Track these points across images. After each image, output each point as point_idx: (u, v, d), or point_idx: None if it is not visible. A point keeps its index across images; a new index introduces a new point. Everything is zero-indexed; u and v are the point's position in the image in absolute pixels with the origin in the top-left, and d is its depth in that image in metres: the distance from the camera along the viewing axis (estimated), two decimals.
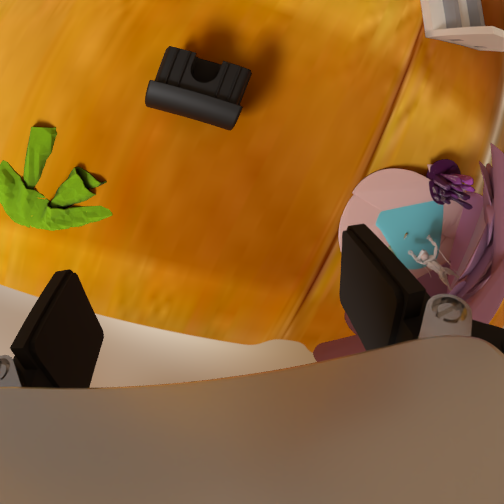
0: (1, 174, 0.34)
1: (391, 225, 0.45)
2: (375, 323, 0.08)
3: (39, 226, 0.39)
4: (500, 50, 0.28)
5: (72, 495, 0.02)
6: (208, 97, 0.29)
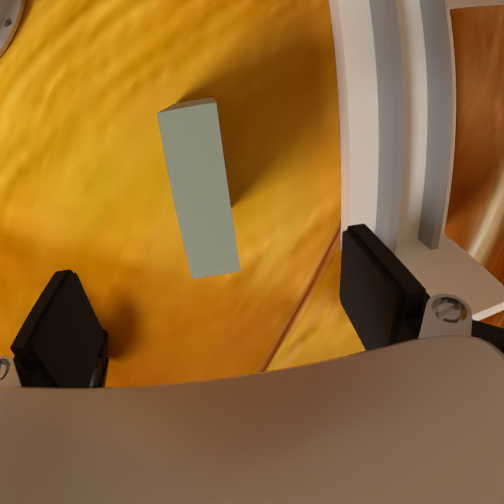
0: None
1: None
2: (375, 323, 0.08)
3: None
4: None
5: (72, 495, 0.02)
6: None
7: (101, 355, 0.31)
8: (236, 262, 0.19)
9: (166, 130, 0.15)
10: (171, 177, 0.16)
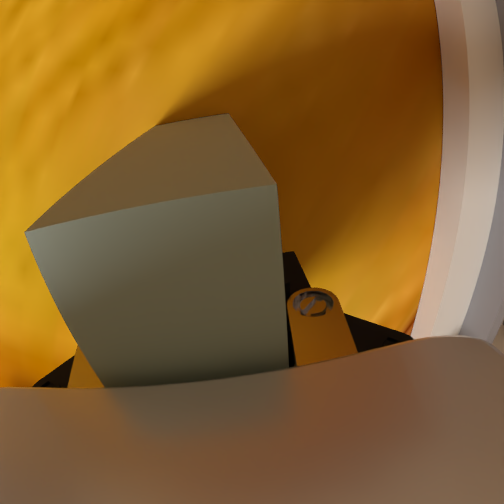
0: None
1: None
2: None
3: None
4: None
5: (72, 495, 0.02)
6: None
7: None
8: None
9: (72, 297, 0.04)
10: None
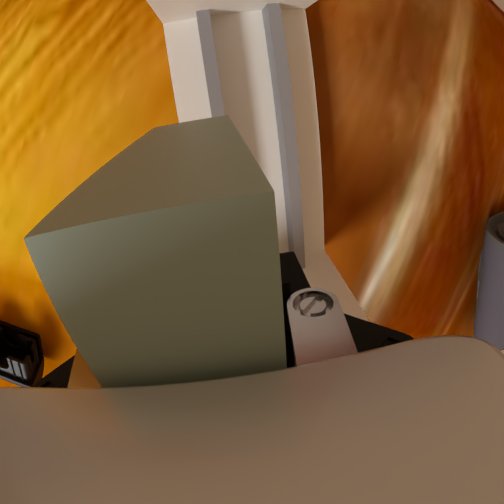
0: None
1: None
2: None
3: None
4: None
5: (72, 495, 0.02)
6: (10, 379, 0.31)
7: (33, 354, 0.34)
8: None
9: (72, 303, 0.04)
10: None
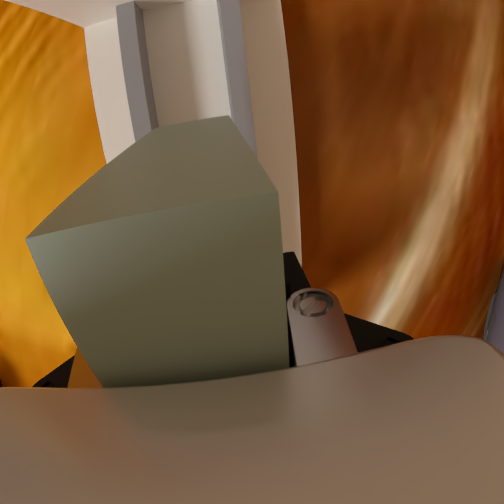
0: None
1: None
2: None
3: None
4: None
5: (72, 495, 0.02)
6: None
7: None
8: None
9: (74, 303, 0.04)
10: None
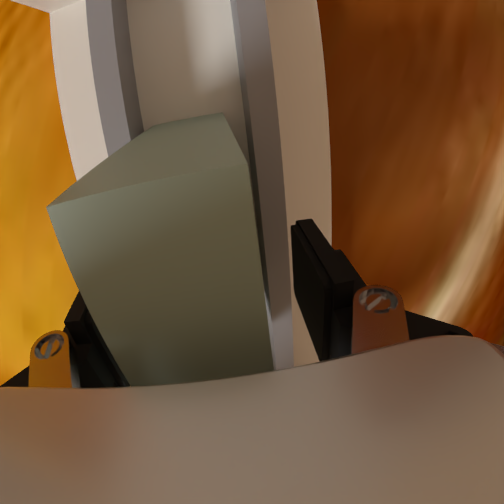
0: None
1: None
2: (315, 314, 0.09)
3: None
4: None
5: (72, 495, 0.02)
6: None
7: None
8: None
9: (84, 262, 0.04)
10: (127, 371, 0.06)
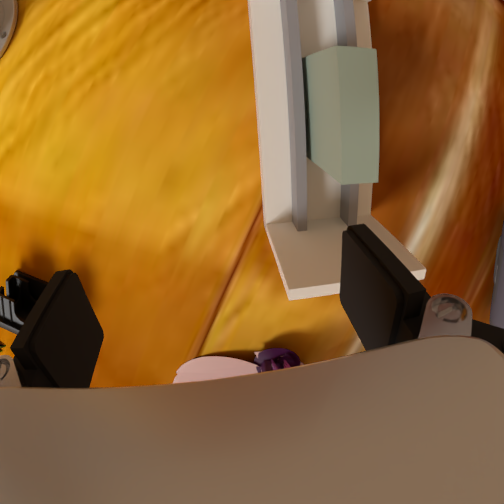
0: None
1: None
2: (375, 323, 0.08)
3: None
4: None
5: (72, 495, 0.02)
6: None
7: None
8: (376, 174, 0.22)
9: (341, 59, 0.18)
10: (341, 95, 0.19)
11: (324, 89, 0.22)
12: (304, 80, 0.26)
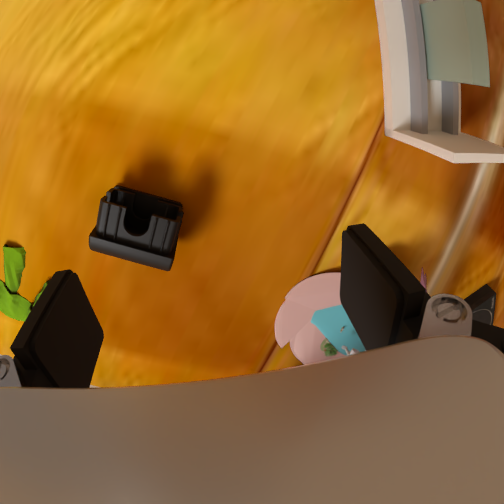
0: None
1: (327, 321, 0.48)
2: (375, 323, 0.08)
3: None
4: None
5: (72, 495, 0.02)
6: (142, 251, 0.33)
7: None
8: (488, 81, 0.22)
9: (465, 4, 0.18)
10: (468, 25, 0.19)
11: (447, 23, 0.22)
12: None
